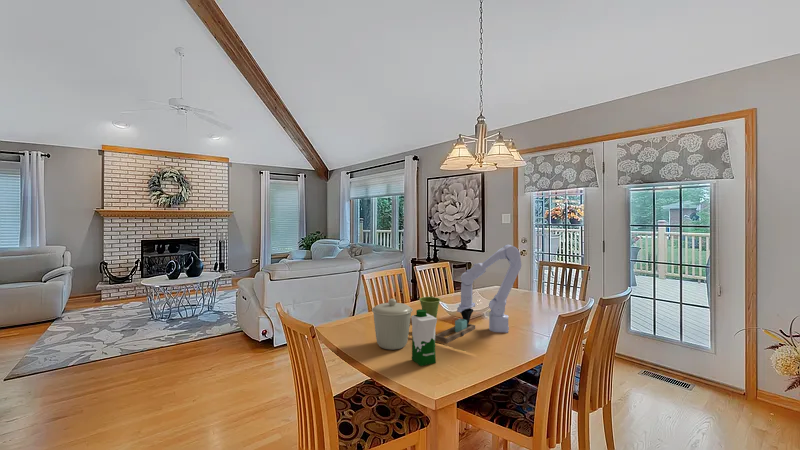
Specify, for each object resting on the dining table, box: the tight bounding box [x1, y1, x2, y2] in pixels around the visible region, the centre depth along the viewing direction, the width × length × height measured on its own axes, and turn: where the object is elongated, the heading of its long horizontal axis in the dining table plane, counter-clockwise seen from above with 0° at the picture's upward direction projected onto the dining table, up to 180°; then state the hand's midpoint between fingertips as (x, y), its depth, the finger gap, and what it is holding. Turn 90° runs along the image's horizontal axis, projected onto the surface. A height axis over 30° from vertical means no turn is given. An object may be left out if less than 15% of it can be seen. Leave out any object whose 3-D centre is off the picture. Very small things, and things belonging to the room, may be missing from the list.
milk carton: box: [410, 308, 438, 367], centre depth 145 cm, size 9×9×20 cm
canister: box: [371, 298, 414, 351], centre depth 161 cm, size 18×18×21 cm
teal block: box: [454, 318, 467, 333], centre depth 178 cm, size 5×4×6 cm
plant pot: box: [418, 296, 441, 318], centre depth 202 cm, size 12×12×11 cm
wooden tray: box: [435, 323, 476, 346], centre depth 174 cm, size 26×8×3 cm, turn 140°
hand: (466, 323), depth 182 cm, fingers closed
